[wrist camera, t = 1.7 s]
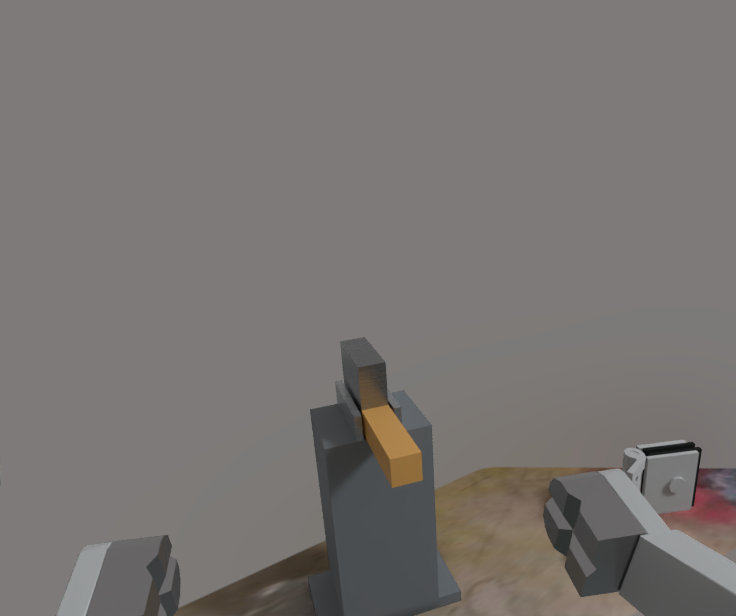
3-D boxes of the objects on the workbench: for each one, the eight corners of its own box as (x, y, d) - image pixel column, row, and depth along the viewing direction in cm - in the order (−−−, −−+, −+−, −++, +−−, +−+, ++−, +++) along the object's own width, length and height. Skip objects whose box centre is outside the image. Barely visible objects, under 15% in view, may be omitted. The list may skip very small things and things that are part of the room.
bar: (392, 488, 46) (386, 409, 43) (346, 402, 62) (340, 341, 59) (422, 480, 46) (418, 402, 44) (369, 397, 62) (364, 337, 60)
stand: (322, 644, 59) (292, 430, 51) (309, 585, 68) (282, 392, 59) (461, 600, 64) (456, 395, 55) (432, 549, 72) (424, 364, 63)
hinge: (625, 534, 72) (630, 474, 69) (598, 510, 77) (602, 453, 74) (699, 507, 76) (707, 449, 73) (668, 486, 81) (675, 432, 78)
